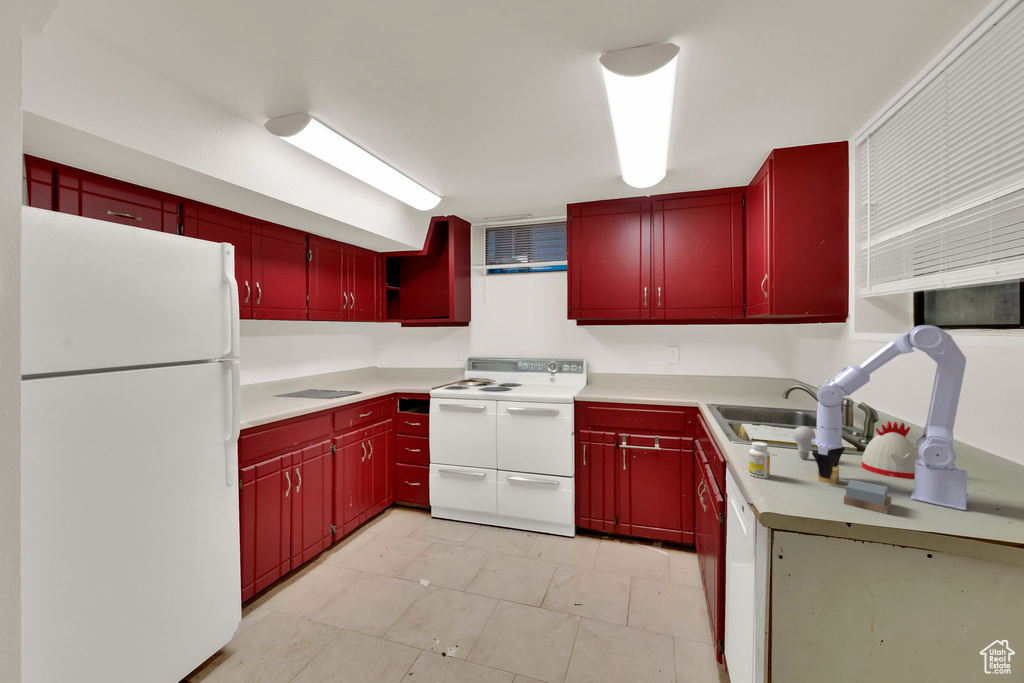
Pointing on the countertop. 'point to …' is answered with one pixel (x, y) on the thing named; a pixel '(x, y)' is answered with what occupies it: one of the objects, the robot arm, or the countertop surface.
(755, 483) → the countertop surface
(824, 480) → the ochre cube
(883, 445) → the kitchen timer
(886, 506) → the tower base
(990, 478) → the countertop surface
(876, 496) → the tower top
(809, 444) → the lightbulb
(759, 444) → the supplement bottle
